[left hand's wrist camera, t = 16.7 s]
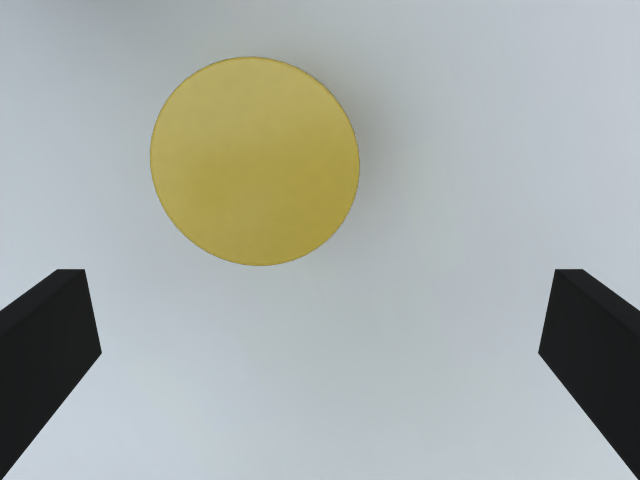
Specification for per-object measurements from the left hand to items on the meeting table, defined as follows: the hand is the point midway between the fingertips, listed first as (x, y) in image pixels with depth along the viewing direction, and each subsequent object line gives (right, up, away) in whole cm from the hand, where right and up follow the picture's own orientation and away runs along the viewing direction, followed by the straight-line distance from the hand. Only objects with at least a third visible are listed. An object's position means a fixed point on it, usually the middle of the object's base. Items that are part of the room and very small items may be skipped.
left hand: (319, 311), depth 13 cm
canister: (-3, +9, +16) cm, 18 cm away
